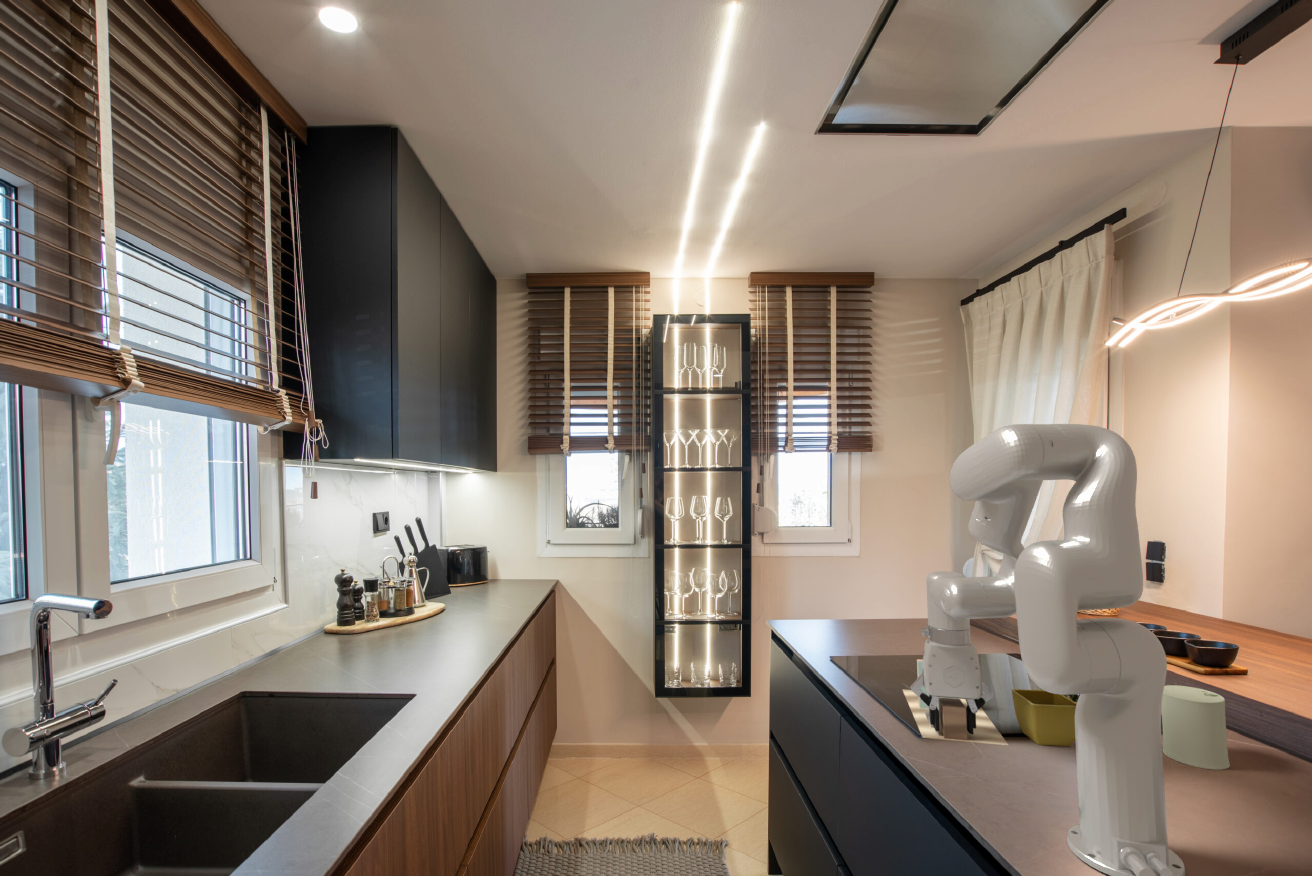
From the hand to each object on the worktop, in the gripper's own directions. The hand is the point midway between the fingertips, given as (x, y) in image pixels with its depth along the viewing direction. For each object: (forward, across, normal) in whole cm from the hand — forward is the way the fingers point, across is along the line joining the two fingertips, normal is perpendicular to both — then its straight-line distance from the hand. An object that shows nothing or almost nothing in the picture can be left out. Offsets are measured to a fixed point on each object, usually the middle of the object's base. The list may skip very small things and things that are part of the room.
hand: (952, 729), depth 120 cm
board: (+2, +2, +11) cm, 11 cm away
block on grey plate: (+1, 0, +3) cm, 4 cm away
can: (+2, +41, +2) cm, 41 cm away
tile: (+1, 0, +14) cm, 14 cm away
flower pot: (+2, +17, +2) cm, 17 cm away
